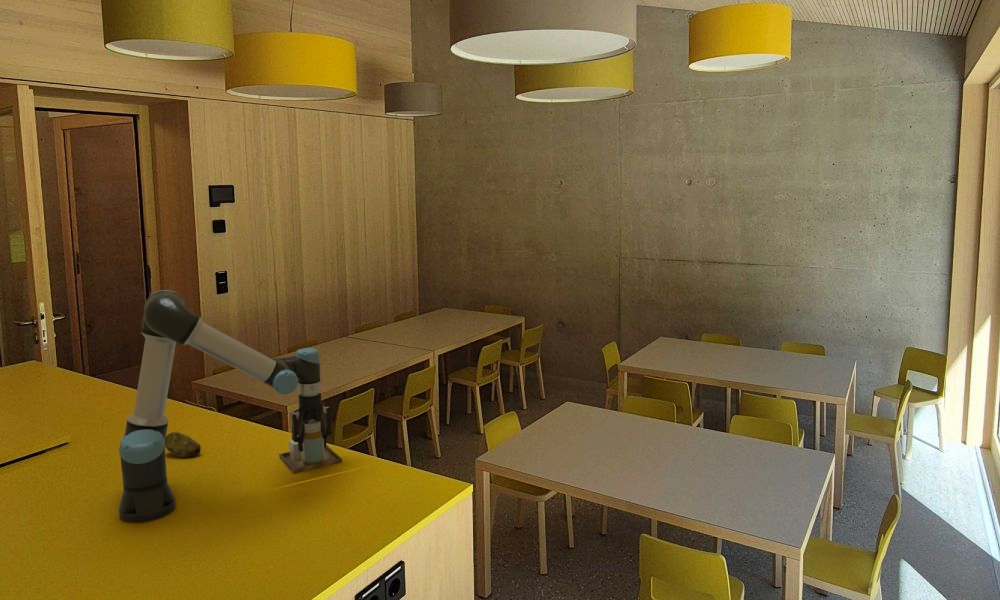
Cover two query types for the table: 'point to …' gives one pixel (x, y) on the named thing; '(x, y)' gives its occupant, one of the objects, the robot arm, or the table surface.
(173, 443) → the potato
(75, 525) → the table surface
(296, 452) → the carton
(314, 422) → the bottle
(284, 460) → the tray
